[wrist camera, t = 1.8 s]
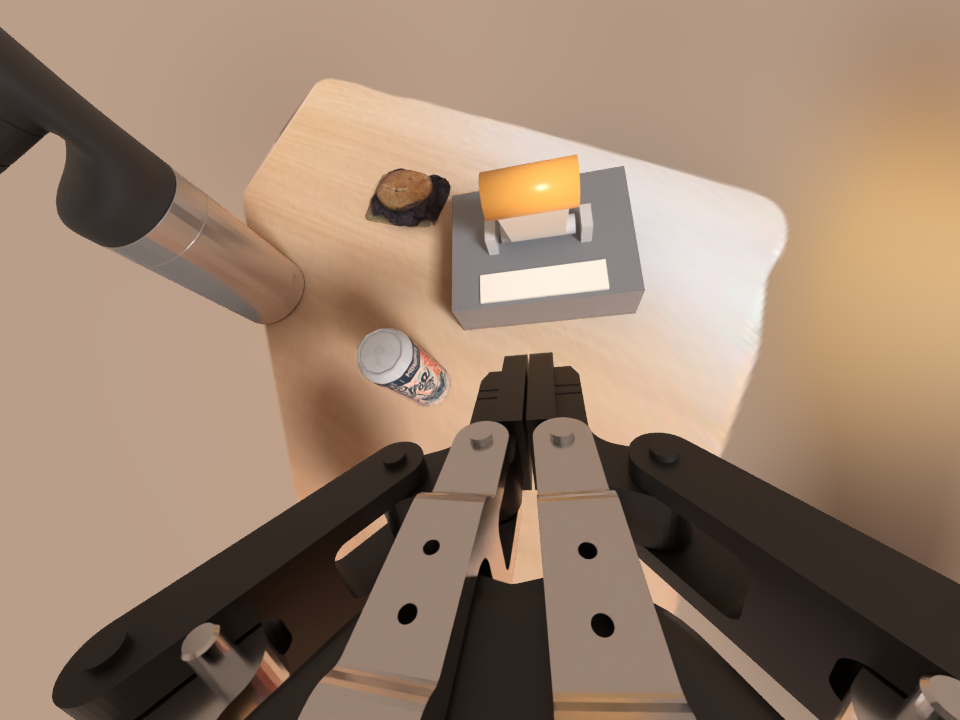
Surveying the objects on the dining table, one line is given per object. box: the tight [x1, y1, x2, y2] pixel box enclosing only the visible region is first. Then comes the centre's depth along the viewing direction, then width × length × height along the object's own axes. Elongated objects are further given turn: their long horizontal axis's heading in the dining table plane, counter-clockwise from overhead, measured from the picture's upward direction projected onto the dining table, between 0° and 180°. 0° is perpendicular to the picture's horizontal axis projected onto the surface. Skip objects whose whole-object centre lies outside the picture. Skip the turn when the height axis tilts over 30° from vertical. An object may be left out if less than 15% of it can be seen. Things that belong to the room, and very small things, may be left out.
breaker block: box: [452, 166, 645, 330], centre depth 39 cm, size 14×18×8 cm
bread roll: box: [366, 168, 450, 227], centre depth 48 cm, size 11×8×4 cm
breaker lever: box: [479, 155, 580, 244], centre depth 30 cm, size 3×7×15 cm, turn 92°
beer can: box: [357, 328, 450, 407], centre depth 35 cm, size 5×5×12 cm
